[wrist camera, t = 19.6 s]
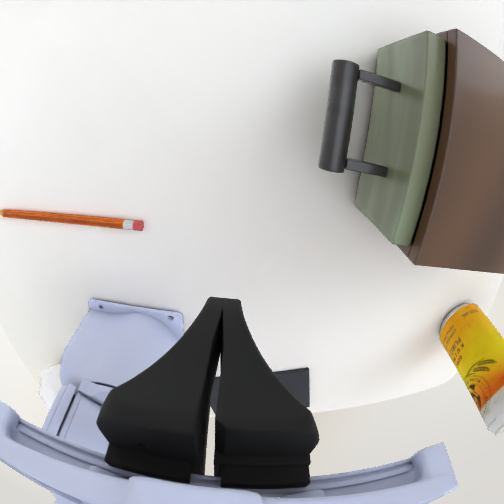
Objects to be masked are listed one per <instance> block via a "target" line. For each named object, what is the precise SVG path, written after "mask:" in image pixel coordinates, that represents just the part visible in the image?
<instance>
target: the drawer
mask: <svg viewBox="0 0 504 504" xmlns="http://www.w3.org/2000/svg"><path fill="white" fill-rule="evenodd" d="M445 49H446V41H445V39H443V38H441V37H439V36H438V35H436V34H434V33H432V32H430V31H425V32H422V33H419V34H416V35H413V36H411V37H408V38H405V39H402V40H400V41H397V42H395V43H392V44H390V45H387V46H385V47H382V48H380V49H378V56H377V67H376V74H374V73H371V72H368V71H364V70H359V65H358V64H356V63H354V62H351V61H347V60H333V62H332V70H331V79H330V88H329V96H328V103H327V111H326V118H325V125H324V132H323V139H322V145H321V152H320V158H319V164H318V166H319V168H321V169H323V170H326V171H330V172H336V173H343V172H344V169H346V170H351V171H357V172H361V175H360V180H359V184H358V189H357V194H356V198H355V203H354V205H355V206H356V207H357V208H358V209H359V210H360V211H361V212H362V213H363V214H364V215H365V216H366V217H367V218H368V219H369V220H370V221H371V222H372V223H373V224H374V225H375V226H376V227H377V228H378V229H379V230H380V231H381V232H382V233H383V235H384V236H385V237H386V238H387V239H388V240H389V241H390V242H391V243H392V244H397V245H404V246H410V243H411V240H412V237H413V234H414V231H415V228H416V225H418V226H419V223H420V220H421V217H422V213H423V210H424V206H425V202H426V199H427V195H428V191H429V187H430V183H431V179H432V174H433V170H434V165H435V160H436V156H437V150H438V145H439V139H440V133H441V127H442V120H443V112H444V104H445V95H446V83H447V67H448V63H447V64H445ZM358 81H360V82H364V83H368V84H371V85H374V95H373V103H372V110H371V117H370V124H369V130H368V136H367V142H366V148H365V154H364V159H363V161H361V160H356V159H352V158H347V152H348V146H349V140H350V133H351V127H352V120H353V113H354V106H355V99H356V91H357V82H358Z"/></svg>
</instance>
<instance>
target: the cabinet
mask: <svg viewBox="0 0 504 504" xmlns="http://www.w3.org/2000/svg"><path fill="white" fill-rule="evenodd" d="M436 35H438V36H439V37H441V38H443V39H445V41H446V49H445V64H447V63H448V67H447V83H446V95H445V104H444V112H443V120H442V127H441V133H440V139H439V145H438V150H437V156H436V160H435V165H434V170H433V174H432V179H431V183H430V187H429V191H428V195H427V199H426V202H425V206H424V210H423V213H422V217H421V220H420V223H419V226H418V225H416V228H415V231H414V234H413V237H412V240H411V243H410V246H404V245H397V244H396V245H397V246H398V247H399V248H400V249H401V250H402V252H403V253H404V254H405V255H406V256H407V257H408V258H409V259H410V260H411V262H412V263H413V264H414V265H421V266H431V267H441V268H451V269H461V270H471V271H481V272H491V273H501V274H504V61H502V60H501V59H500V58H499V57H497V56H496V55H495V54H493V53H492V52H491V51H489V50H488V49H487V48H485V47H484V46H482V45H481V44H480V43H478V42H477V41H475V40H474V39H472V38H471V37H469V36H468V35H466V34H465V33H463V32H461V31H460V30H458V29H452V30H448V31H444V32H441V33H437V34H436Z"/></svg>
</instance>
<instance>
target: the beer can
mask: <svg viewBox="0 0 504 504" xmlns="http://www.w3.org/2000/svg"><path fill="white" fill-rule="evenodd" d="M440 341H441V343H442V344H443V346H444V348H445V349H446V351H447V353H448V354H449V356H450V358H451V359H452V361H453V363H454V365H455V366H456V368H457V370H458V372H459V373H460V375H461V377H462V379H463V381H464V382H465V384H466V386H467V388H468V389H469V392H470V394H471V396H472V398H473V399H474V401H475V403H476V405H477V407H478V409H479V411H480V414H481V416H482V418H483V420H484V422H485V424H486V426H487V429H488V430H489V431H491V432H492V433H494V434H495V436H497V435H499V434H501V433H503V432H504V339H503V338H502V336H501V335H500V333H498V331H497V329H496V328H495V327H494V326H493V325H492V323H491V322H490V320H489V319H488V318H487V317H486V316H485V314H484V313H483V312H482V311H481V309H480V308H479V307H478V306H477V305H476V304H468V303H465V304H461V305H459V306H457V307H456V308H455V309H453V310H452V311H451V312H450V313H449V314H448V315H447V317H446V318H445V319H444V321H443V323H442V325H441V329H440Z"/></svg>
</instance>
